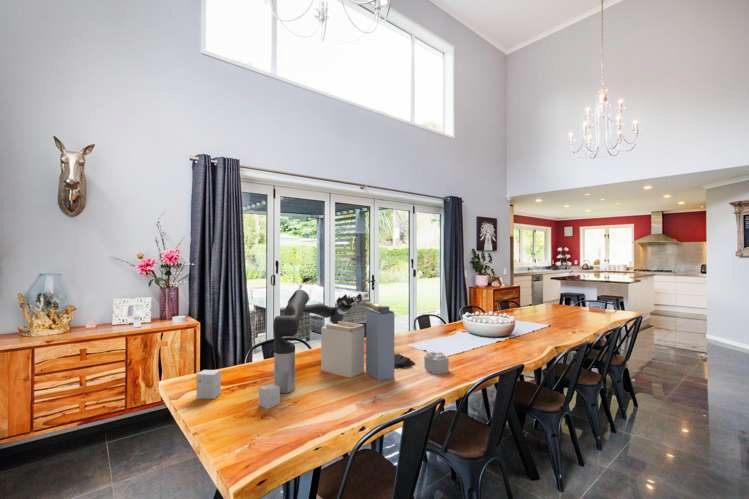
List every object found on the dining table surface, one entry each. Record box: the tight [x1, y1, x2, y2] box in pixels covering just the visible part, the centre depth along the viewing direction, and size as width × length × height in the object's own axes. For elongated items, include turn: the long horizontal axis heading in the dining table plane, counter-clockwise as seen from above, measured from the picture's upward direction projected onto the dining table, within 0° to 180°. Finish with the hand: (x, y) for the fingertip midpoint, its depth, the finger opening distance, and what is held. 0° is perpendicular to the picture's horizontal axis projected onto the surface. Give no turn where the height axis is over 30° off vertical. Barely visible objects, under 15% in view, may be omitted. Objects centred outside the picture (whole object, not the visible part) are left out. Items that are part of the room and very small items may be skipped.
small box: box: [195, 369, 222, 400], centre depth 151 cm, size 8×6×10 cm
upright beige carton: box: [320, 320, 365, 379], centre depth 184 cm, size 20×11×24 cm, turn 56°
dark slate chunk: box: [394, 353, 416, 370], centre depth 199 cm, size 15×22×5 cm
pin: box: [363, 301, 390, 314], centre depth 183 cm, size 22×5×3 cm, turn 26°
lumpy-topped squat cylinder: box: [423, 351, 450, 374], centre depth 187 cm, size 10×13×9 cm
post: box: [365, 308, 395, 382], centre depth 178 cm, size 14×9×33 cm, turn 26°
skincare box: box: [258, 383, 281, 410], centre depth 143 cm, size 6×6×7 cm
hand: (353, 295), depth 197 cm, fingers open, 8 cm apart
